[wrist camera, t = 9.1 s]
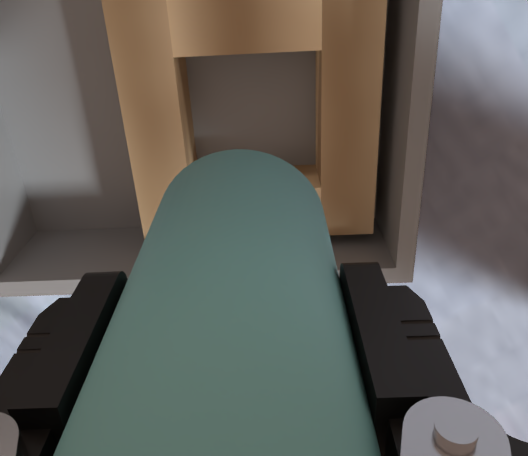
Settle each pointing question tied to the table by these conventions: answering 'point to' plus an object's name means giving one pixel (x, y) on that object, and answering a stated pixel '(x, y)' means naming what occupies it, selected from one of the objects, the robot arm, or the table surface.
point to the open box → (205, 132)
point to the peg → (228, 328)
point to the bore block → (250, 42)
